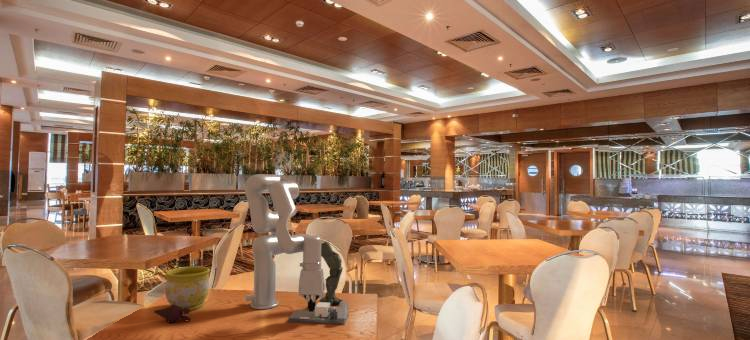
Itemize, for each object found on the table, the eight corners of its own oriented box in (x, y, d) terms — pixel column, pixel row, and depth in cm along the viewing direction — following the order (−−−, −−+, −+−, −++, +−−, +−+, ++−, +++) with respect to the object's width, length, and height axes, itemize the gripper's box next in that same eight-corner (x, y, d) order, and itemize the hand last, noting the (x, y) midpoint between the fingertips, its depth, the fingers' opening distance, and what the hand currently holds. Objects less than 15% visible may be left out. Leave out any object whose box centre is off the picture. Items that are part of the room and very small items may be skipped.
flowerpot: (216, 301, 182) (216, 266, 182) (197, 314, 164) (198, 275, 164) (178, 300, 182) (179, 265, 183) (155, 313, 164) (156, 275, 165)
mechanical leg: (351, 300, 182) (337, 237, 184) (349, 304, 175) (334, 240, 177) (323, 305, 184) (309, 244, 185) (320, 310, 177) (305, 246, 178)
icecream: (147, 309, 152) (184, 313, 151) (159, 298, 159) (194, 302, 158) (148, 324, 153) (185, 328, 152) (160, 313, 160) (195, 317, 160)
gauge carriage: (313, 318, 155) (313, 308, 155) (318, 311, 163) (318, 302, 163) (333, 319, 155) (333, 309, 155) (337, 312, 162) (337, 302, 162)
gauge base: (288, 321, 156) (288, 305, 156) (295, 313, 166) (295, 298, 166) (344, 324, 154) (344, 307, 154) (348, 315, 164) (348, 300, 164)
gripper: (291, 267, 158) (291, 313, 157) (327, 268, 156) (327, 314, 156) (297, 263, 165) (296, 307, 165) (331, 264, 164) (331, 308, 163)
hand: (311, 310), depth 160 cm, fingers closed
